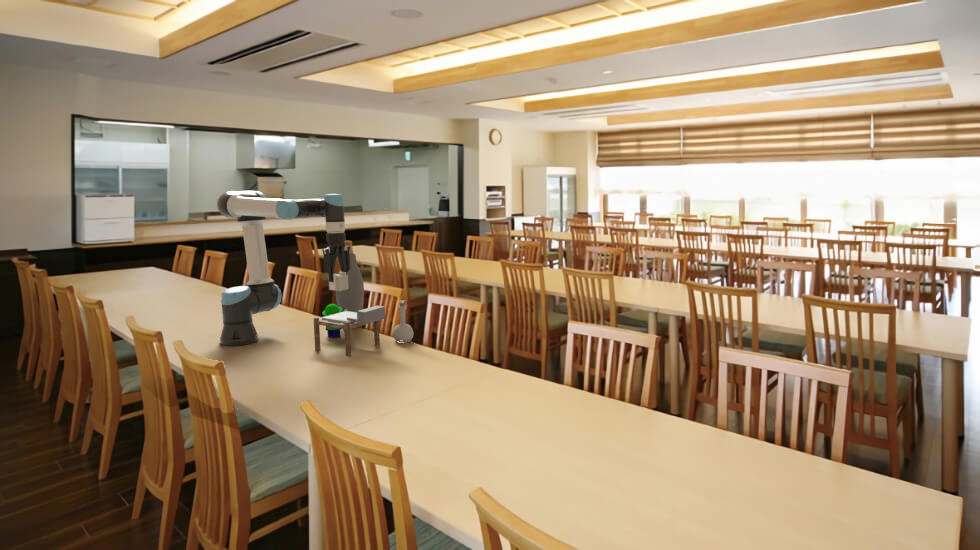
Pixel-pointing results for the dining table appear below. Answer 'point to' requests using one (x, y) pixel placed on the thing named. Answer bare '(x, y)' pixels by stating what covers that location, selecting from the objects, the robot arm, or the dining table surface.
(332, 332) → the toy
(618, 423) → the dining table surface
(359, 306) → the vase
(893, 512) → the dining table surface
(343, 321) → the grey faceted block
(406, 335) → the potion bottle
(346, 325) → the frame
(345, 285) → the stone
